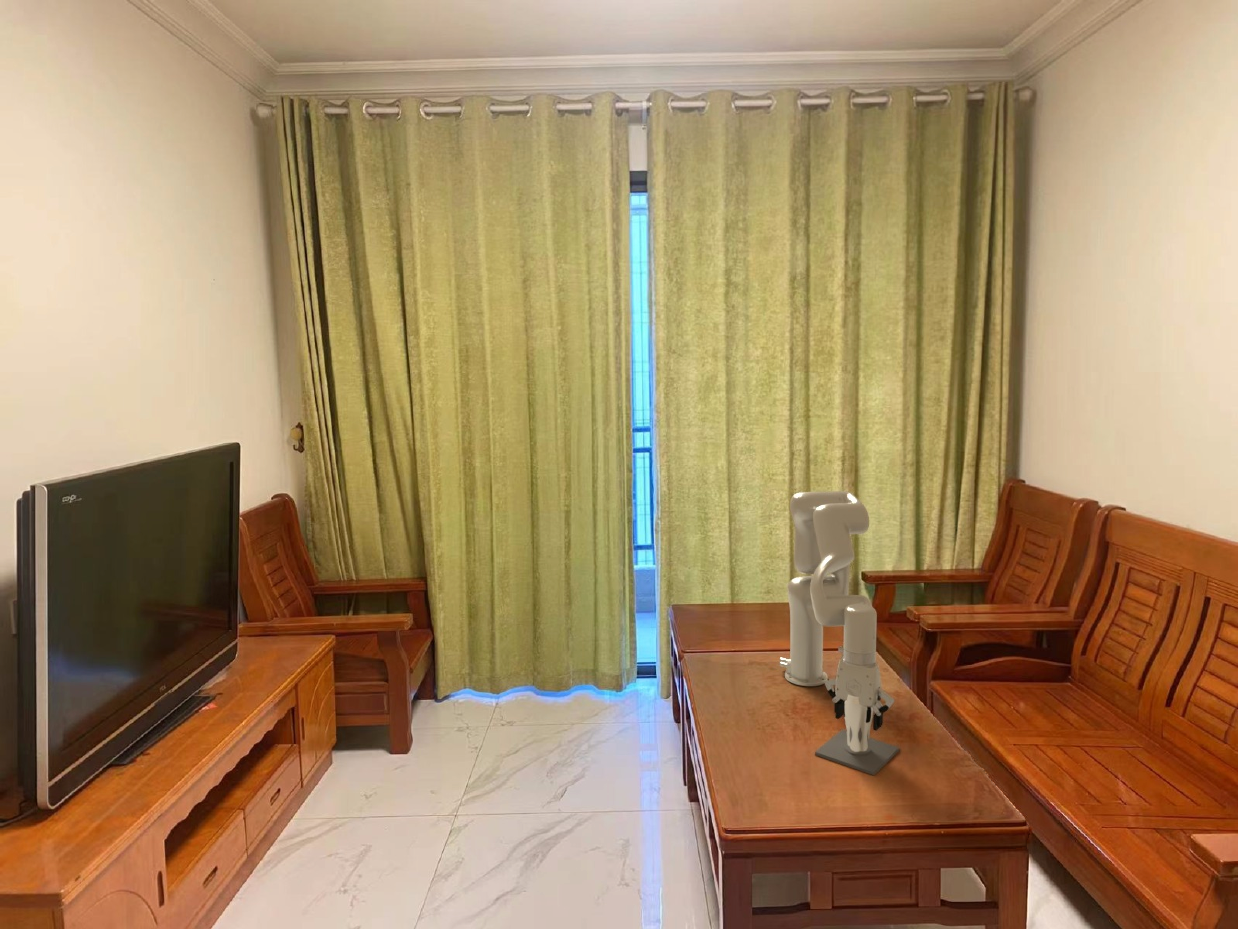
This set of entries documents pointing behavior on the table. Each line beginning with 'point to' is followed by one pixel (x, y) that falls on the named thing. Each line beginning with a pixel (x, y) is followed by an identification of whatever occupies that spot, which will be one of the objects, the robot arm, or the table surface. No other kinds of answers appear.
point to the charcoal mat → (864, 763)
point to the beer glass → (857, 726)
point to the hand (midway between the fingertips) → (858, 722)
